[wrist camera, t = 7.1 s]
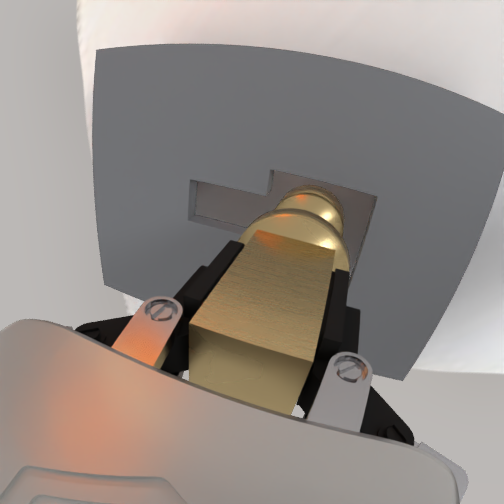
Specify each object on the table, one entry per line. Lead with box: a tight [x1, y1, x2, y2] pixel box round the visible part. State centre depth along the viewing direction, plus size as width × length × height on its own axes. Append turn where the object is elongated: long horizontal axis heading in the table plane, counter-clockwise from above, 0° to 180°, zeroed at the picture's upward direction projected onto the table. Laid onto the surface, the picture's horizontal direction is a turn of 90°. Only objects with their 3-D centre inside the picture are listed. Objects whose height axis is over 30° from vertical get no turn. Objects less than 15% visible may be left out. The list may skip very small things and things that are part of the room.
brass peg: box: [189, 185, 350, 415], centre depth 14 cm, size 5×5×12 cm
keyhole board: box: [92, 44, 504, 381], centre depth 21 cm, size 24×18×7 cm
